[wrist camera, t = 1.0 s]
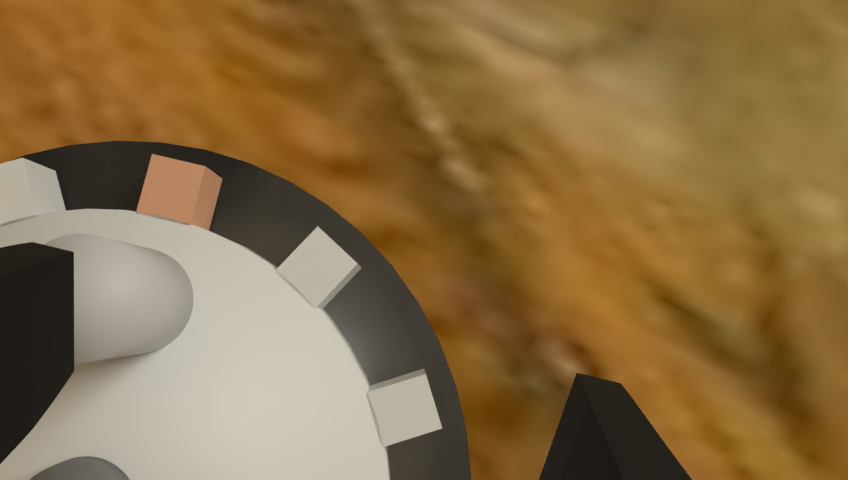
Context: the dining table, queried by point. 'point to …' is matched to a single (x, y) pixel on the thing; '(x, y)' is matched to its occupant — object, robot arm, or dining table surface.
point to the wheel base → (275, 241)
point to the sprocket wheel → (200, 347)
